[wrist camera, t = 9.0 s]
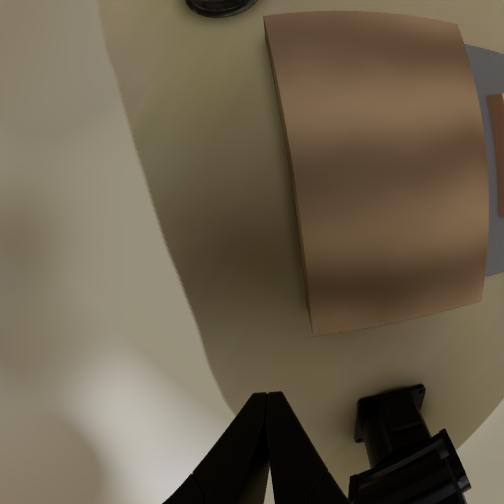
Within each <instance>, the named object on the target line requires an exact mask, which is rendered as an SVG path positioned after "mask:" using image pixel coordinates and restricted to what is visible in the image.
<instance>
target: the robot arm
mask: <svg viewBox="0 0 504 504" xmlns="http://www.w3.org/2000/svg"><path fill="white" fill-rule="evenodd" d="M425 391H426V389H425V387H424V385H419V386H415V387H411V388H408V389H404V390H400V391H396V392H392V393H388V394H383V395H379V396H374V397H369V398H365V399H361V400H360V401H359V402H358V406H357V418H356V428H355V437H354V439H355V442H356V443H361V442H365V446H366V450H367V454H368V458H369V463H370V467H371V469H369V470H367V471H364V472H362V473H360V474H355V475H352V476H350V484H349V494H348V498H347V497H346V496H345V495H344V493H343V492H342V490H341V489H340V487H339V486H338V484H337V483H336V482H335V480H334V478H333V477H332V475H331V474H330V472H328V469H327V467H326V466H325V464H324V462H323V461H322V459H321V457H320V456H319V454H318V452H317V451H316V449H315V447H314V446H313V444H312V442H311V441H310V439H309V437H308V436H307V434H306V432H305V430H304V429H303V427H302V425H301V424H300V422H299V420H298V418H297V417H296V415H295V413H294V412H293V410H292V408H291V406H290V405H289V403H288V401H287V399H286V397H285V396H284V394H283V393H282V392H281V391H279V392H269V393H268V394H267V393H266V392H262V393H253V394H252V395H251V397H250V398H249V399H248V401H247V402H246V404H245V405H244V406H243V408H242V409H241V410H240V412H239V413H238V414H237V416H236V417H235V419H234V420H233V421H232V423H231V424H230V425H229V427H228V428H227V429H226V431H225V432H224V433H223V434H222V436H221V437H220V438H219V440H218V441H217V442H216V444H215V445H214V446H213V447H212V449H211V450H210V451H209V452H208V454H207V455H206V456H205V457H204V459H203V460H202V461H201V462H200V464H199V465H198V466H197V467H196V468H195V470H194V471H193V474H190V475H189V477H188V478H187V479H186V480H185V481H184V483H183V484H182V485H181V486H180V487H179V488H178V489H177V490H176V491H175V492H174V493H173V495H171V496H170V497H169V498H168V499H167V500H166V501H165V502H164V503H163V504H263V503H264V498H265V492H266V486H267V480H268V473H269V467H270V470H271V477H272V485H273V493H274V500H275V504H467V503H466V500H465V497H464V495H463V493H464V492H466V491H467V490H469V489H471V485H470V483H469V480H468V478H467V476H466V473H465V470H464V468H463V466H462V463H461V461H460V459H459V457H458V455H457V453H456V450H455V448H454V446H453V444H452V442H451V440H450V438H449V436H448V434H447V431H446V429H445V428H444V429H442V430H441V431H439V433H438V434H436V435H434V436H433V437H431V434H430V432H429V430H428V428H427V425H426V423H425V421H424V419H423V416H422V414H421V412H420V409H421V406H422V402H423V399H424V395H425Z"/></svg>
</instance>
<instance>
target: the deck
mask: <svg viewBox="0 0 504 504" xmlns="http://www.w3.org/2000/svg"><path fill="white" fill-rule="evenodd" d="M263 18H264V29H265V40H266V44H267V49H268V54H269V58H270V63H271V68H272V73H273V78H274V83H275V88H276V93H277V98H278V104H279V109H280V115H281V120H282V126H283V132H284V137H285V143H286V149H287V155H288V161H289V168H290V174H291V181H292V187H293V194H294V201H295V208H296V215H297V222H298V230H299V238H300V246H301V254H302V262H303V271H304V279H305V289H306V298H307V308H308V313H309V319H310V324H311V329H312V334H313V337H315V336H322V335H329V334H335V333H342V332H348V331H354V330H359V329H365V328H370V327H376V326H381V325H386V324H391V323H396V322H400V321H405V320H410V319H414V318H419V317H423V316H427V315H431V314H435V313H439V312H443V311H447V310H451V309H455V308H459V307H462V306H466V305H470V304H473V303H477V302H480V301H481V299H482V293H483V286H484V278H485V270H486V260H487V248H488V230H489V184H488V166H487V154H486V145H485V136H484V129H483V122H482V116H481V110H480V105H479V100H478V95H477V90H476V86H475V81H474V77H473V73H472V69H471V66H470V62H469V58H468V55H467V52H466V48H465V45H464V42H463V39H462V36H461V33H460V30H459V27H458V25H457V24H453V23H449V22H444V21H439V20H434V19H428V18H422V17H416V16H408V15H400V14H391V13H379V12H362V11H315V12H298V13H286V14H276V15H268V16H263Z"/></svg>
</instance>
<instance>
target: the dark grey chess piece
mask: <svg viewBox="0 0 504 504" xmlns="http://www.w3.org/2000/svg"><path fill="white" fill-rule="evenodd" d="M185 1H186V4H187V5H188V6H189V8H190V9H191V10H192V11H194V12H196V13H197V14H199V15H202V16H205V17H213V18H221V17H229V16H232V15H236V14H239V13H241V12H243V11H245V10H247V9H248V8H250V7H251V6H252V5H254V4H255V2H256V1H257V0H185Z"/></svg>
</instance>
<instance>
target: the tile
mask: <svg viewBox="0 0 504 504" xmlns="http://www.w3.org/2000/svg"><path fill="white" fill-rule="evenodd" d="M486 99H487V103H488V108H489V114H490V119H491V125H492V132H493V139H494V147H495V156H496V167H497V183H498V215H499V216H502V217H504V94H503V93H501V94H496V95H491V96H486Z"/></svg>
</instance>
